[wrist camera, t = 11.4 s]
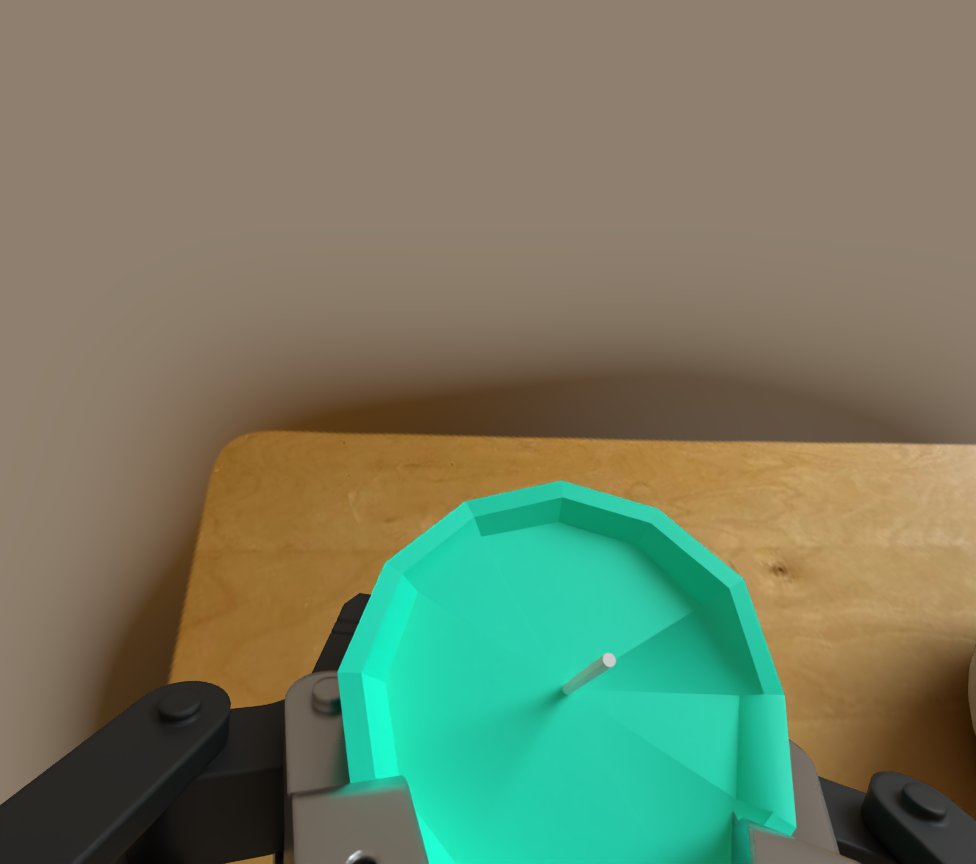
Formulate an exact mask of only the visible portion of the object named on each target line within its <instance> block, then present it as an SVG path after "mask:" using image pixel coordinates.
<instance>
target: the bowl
mask: <svg viewBox="0 0 976 864" xmlns="http://www.w3.org/2000/svg"><path fill="white" fill-rule="evenodd" d="M968 699H969V705H970V711H971V717H972V723H973V729H974V732H975V735H976V645H975V649H974V653H973V657H972V660H971V664H970V668H969V683H968Z"/></svg>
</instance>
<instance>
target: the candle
mask: <svg viewBox="0 0 976 864" xmlns="http://www.w3.org/2000/svg"><path fill="white" fill-rule="evenodd" d="M337 674H338V683H339V691H340V700H341V708H342V717H343V726H344V734H345V743H346V751H347V760H348V768H349V777H350V783H355V782H361V781H368V780H374V779H381V778H387V777H394V776H400V775H403V776H404V777H405V779H406V780H407V783H408V786H409V789H410V793H411V796H412V800H413V804H414V808H415V812H416V815H417V819H418V823H419V827H420V831H421V834H422V838H423V842H424V846H425V850H426V853H427V857H428V861H429V864H731V850H732V821H733V812H734V814H735V815H736V817H737V819H738V820H739V821H740V819H741V818H746V819H748V820H751V821H753V822H756V823H759V824H761V825H764V826H766V827H769V828H772V829H774V830H777V831H779V832H782V833H785V834H787V835H790V836H791V835H792V833H793V832H794V831H795V829H796V828H797V827H796V815H795V804H794V793H793V782H792V771H791V760H790V749H789V738H788V727H787V715H786V704H785V695H784V692H783V689H782V686H781V683H780V680H779V678H778V675H777V672H776V669H775V666H774V663H773V660H772V658H771V655H770V652H769V649H768V646H767V643H766V641H765V638H764V635H763V632H762V629H761V626H760V623H759V621H758V618H757V615H756V612H755V609H754V606H753V603H752V601H751V598H750V595H749V592H748V589H747V586H746V584H745V581H744V579H743V578H742V577H741V576H740V575H738V574H737V573H736V572H735V571H733V570H732V569H731V568H730V567H729V566H727V565H726V564H725V563H724V562H722V561H721V560H720V559H719V558H718V557H716V556H715V555H714V554H713V553H711V552H710V551H709V550H708V549H707V548H705V547H704V546H703V545H702V544H701V543H699V542H698V541H697V540H696V539H694V538H693V537H692V536H691V535H690V534H688V533H687V532H686V531H685V530H683V529H682V528H681V527H680V526H679V525H677V524H676V523H675V522H674V521H672V520H671V519H670V518H669V517H668V516H666V515H665V514H664V513H663V512H662V511H660V510H659V509H658V508H654V507H651V506H647V505H644V504H641V503H637V502H634V501H630V500H627V499H623V498H620V497H617V496H613V495H610V494H606V493H603V492H599V491H596V490H592V489H589V488H586V487H582V486H579V485H575V484H572V483H568V482H565V481H562V480H561V481H557V482H552V483H548V484H543V485H538V486H534V487H529V488H524V489H520V490H515V491H511V492H506V493H501V494H497V495H492V496H487V497H483V498H478V499H474V500H469V501H465V502H464V503H462V504H461V505H460V506H459V507H457V508H456V509H455V510H453V511H452V512H451V513H449V514H448V515H447V516H445V517H444V518H443V519H442V520H440V521H439V522H438V523H436V524H435V525H434V526H432V527H431V528H430V529H429V530H427V531H426V532H425V533H423V534H422V535H421V536H419V537H418V538H417V539H415V540H414V541H413V542H412V543H410V544H409V545H408V546H406V547H405V548H404V549H402V550H401V551H400V552H398V553H397V554H396V555H395V556H393V557H392V558H391V559H389V560H388V561H387V562H385V564H384V567H383V569H382V571H381V573H380V576H379V578H378V580H377V583H376V585H375V587H374V589H373V592H372V594H371V596H370V599H369V601H368V603H367V605H366V608H365V610H364V612H363V615H362V617H361V619H360V621H359V624H358V626H357V628H356V631H355V633H354V635H353V638H352V640H351V642H350V644H349V647H348V649H347V651H346V654H345V656H344V658H343V660H342V663H341V665H340V667H339V670H338V672H337Z"/></svg>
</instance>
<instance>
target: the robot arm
mask: <svg viewBox="0 0 976 864" xmlns="http://www.w3.org/2000/svg"><path fill="white" fill-rule="evenodd" d="M370 596H371V595H369V594H362V593H359V594H358V595H356V596H355V597H354V598H352V599H351V600H349V601H348V602H347V603H345V604H344V606H343V608H342V610H341V612H340V614H339V616H338V618H337V621H336V623H335V625H334V627H333V629H332V633H330V635H329V638H328V640H327V642H326V644H325V646H324V648H323V650H322V652H321V655H320V657H319V659H318V661H317V663H316V665H315V667H314V670H313V672H312V673H311V674H309V675H306V676H304V677H302V678H300V679H299V680H297V681H296V682H295V683H294V684H293V685H292V686H291V687H290V688H289V690H288V691H287V694H286V696H285V699H284V700H281V701H278V702H276V703H272V704H268V705H262V706H254V707H244V708H235V709H230V706H231V702H230V698H229V696H228V694H227V693H226V692H225V691H224V690H223V689H222V688H220V687H219V686H216V685H214V684H211V683H207V682H201V681H185V682H178V683H173V684H169V685H166V686H163V687H160V688H158V689H155V690H154V691H152V692H150V693H148V694H146V695H145V696H143V697H142V698H141V699H139V700H138V701H137V702H135V703H134V704H133V705H131V706H130V707H129V708H127V709H126V710H125V711H124V712H122V713H121V714H120V715H118V716H117V717H116V718H114V719H113V720H112V721H110V722H109V723H108V724H106V725H105V726H104V727H102V728H101V729H100V730H98V731H97V732H96V733H95V734H93V735H92V736H91V737H89V738H88V739H87V740H85V741H84V742H83V743H81V744H80V745H79V746H78V747H76V748H75V749H73V750H72V751H71V752H70V753H68V754H67V755H66V756H64V757H63V758H62V759H60V760H59V761H58V762H56V763H55V764H54V765H52V766H51V767H50V768H49V769H47V770H46V771H45V772H43V773H42V774H41V775H39V776H38V777H37V778H36V779H34V780H33V781H31V782H30V783H29V784H27V785H26V786H25V787H24V788H22V789H21V790H20V791H18V792H17V793H16V794H14V795H13V796H12V797H10V798H9V799H8V800H6V801H5V802H4V803H2V804H1V805H0V864H225V863H230V862H235V861H240V860H245V859H251V858H256V857H261V856H266V855H271V854H273V864H429V861H428V857H427V853H426V850H425V846H424V842H423V838H422V834H421V831H420V827H419V823H418V819H417V815H416V812H415V808H414V804H413V800H412V796H411V793H410V789H409V786H408V783H407V780H406V779H405V777H404V776H403V775H400V776H394V777H387V778H381V779H374V780H368V781H361V782H355V783H350V777H349V768H348V760H347V751H346V743H345V734H344V726H343V717H342V708H341V700H340V691H339V683H338V674H337V672H338V670H339V667H340V665H341V663H342V660H343V658H344V656H345V654H346V651H347V649H348V647H349V644H350V642H351V640H352V638H353V635H354V633H355V631H356V628H357V626H358V624H359V621H360V619H361V617H362V615H363V612H364V610H365V608H366V605H367V603H368V601H369V599H370ZM789 749H790V760H791V771H792V782H793V793H794V804H795V815H796V827H797V828H796V829H795V831H794V832H793V833H792V835H791V836H790V835H787V834H785V833H782V832H779V831H777V830H774V829H772V828H769V827H766V826H764V825H761V824H759V823H756V822H753V821H751V820H748V819H746V818H741V819H740V821H739V820H738V819H737V817H736V815H735V814H734V812H733V821H732V850H731V864H976V821H975V820H974V819H973V818H972V817H971V816H969V815H968V814H967V813H966V812H965V811H964V810H962V809H961V808H960V807H959V806H958V805H956V804H955V803H954V802H953V801H951V800H950V799H949V798H948V797H946V796H945V795H943V794H942V793H941V792H939V791H938V790H936V789H934V788H932V787H931V786H929V785H927V784H925V783H923V782H921V781H919V780H917V779H914V778H912V777H909V776H906V775H903V774H900V773H895V772H879V773H876V774H874V775H873V777H872V778H871V781H870V784H869V786H868V789H867V792H866V793H864V792H861V791H858V790H855V789H852V788H849V787H847V786H844V785H841V784H838V783H835V782H832V781H830V780H827V779H824V778H822V777H819V776H818V775H817V771H816V768H815V766H814V764H813V762H812V760H811V759H810V758H809V756H808V755H807V754H806V753H805V752H804V751H803V750H802V749H801V748H800V747H799V746H798V745H796V744H795V743H794V742H792V741H791V740H789Z"/></svg>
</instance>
